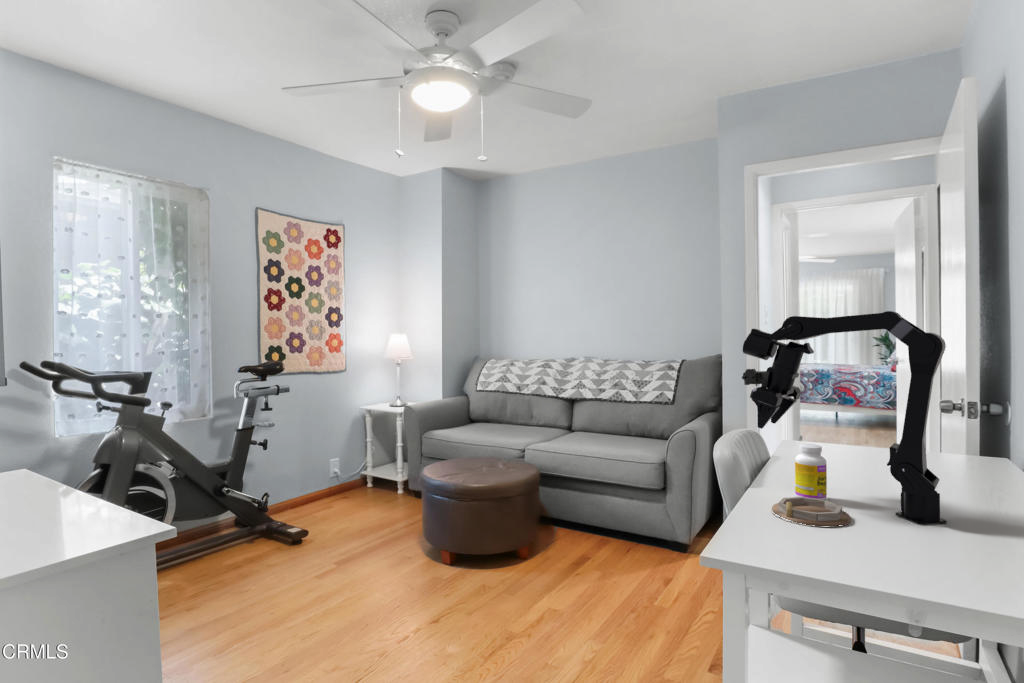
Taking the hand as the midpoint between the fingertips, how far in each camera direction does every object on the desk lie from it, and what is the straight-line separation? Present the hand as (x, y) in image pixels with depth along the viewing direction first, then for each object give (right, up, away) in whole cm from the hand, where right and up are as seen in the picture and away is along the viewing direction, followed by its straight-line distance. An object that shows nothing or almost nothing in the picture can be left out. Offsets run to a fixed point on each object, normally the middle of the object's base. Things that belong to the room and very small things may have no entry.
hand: (766, 425), depth 138 cm
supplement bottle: (+8, -17, -6) cm, 20 cm away
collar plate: (+1, -17, -17) cm, 24 cm away
